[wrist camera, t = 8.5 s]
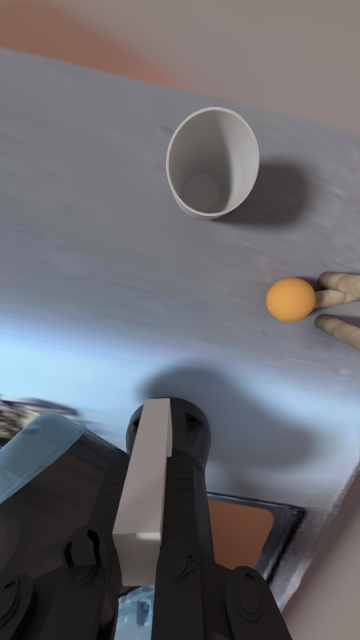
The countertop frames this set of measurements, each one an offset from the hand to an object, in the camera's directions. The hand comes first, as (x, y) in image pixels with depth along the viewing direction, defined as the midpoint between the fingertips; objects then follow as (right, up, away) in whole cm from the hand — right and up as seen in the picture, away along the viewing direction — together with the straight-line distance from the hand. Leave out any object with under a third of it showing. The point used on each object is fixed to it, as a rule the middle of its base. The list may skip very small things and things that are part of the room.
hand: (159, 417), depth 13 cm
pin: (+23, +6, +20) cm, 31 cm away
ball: (+16, +9, +16) cm, 24 cm away
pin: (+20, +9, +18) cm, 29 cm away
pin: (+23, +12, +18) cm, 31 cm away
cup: (+4, +23, +15) cm, 28 cm away
